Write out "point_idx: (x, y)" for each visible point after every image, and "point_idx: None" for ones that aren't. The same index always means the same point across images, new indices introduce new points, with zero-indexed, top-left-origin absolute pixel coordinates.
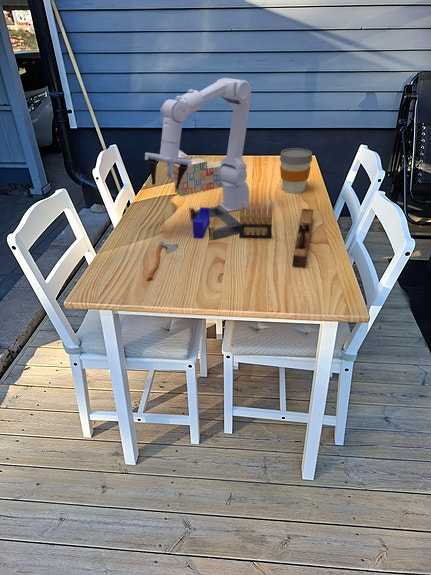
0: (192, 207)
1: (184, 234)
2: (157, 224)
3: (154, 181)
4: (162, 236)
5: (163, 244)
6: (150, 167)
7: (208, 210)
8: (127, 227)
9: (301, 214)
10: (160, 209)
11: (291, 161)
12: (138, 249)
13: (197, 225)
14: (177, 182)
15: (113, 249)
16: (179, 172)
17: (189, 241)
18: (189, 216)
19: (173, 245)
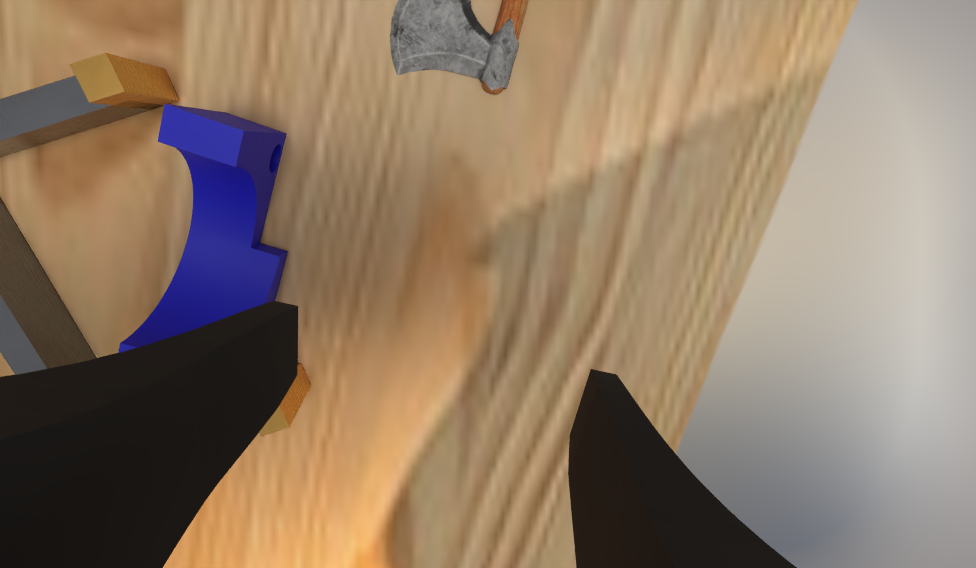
0: (262, 435)
1: (346, 194)
2: (506, 357)
3: (594, 396)
4: (484, 194)
5: (484, 56)
6: (769, 565)
7: (126, 346)
8: (673, 346)
9: None
10: (480, 535)
11: None
12: (636, 47)
13: (216, 117)
14: (236, 329)
15: (774, 83)
16: (67, 405)
17: (314, 86)
18: (304, 395)
19: (420, 35)
